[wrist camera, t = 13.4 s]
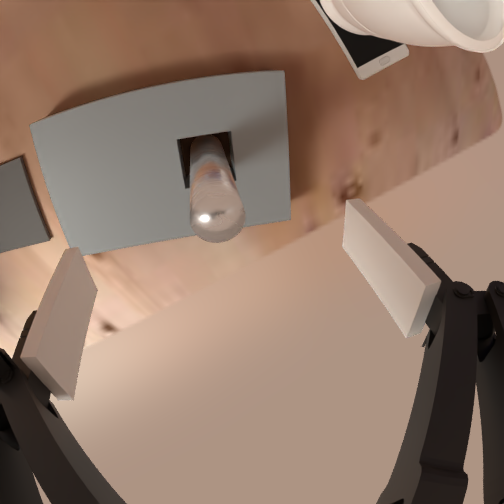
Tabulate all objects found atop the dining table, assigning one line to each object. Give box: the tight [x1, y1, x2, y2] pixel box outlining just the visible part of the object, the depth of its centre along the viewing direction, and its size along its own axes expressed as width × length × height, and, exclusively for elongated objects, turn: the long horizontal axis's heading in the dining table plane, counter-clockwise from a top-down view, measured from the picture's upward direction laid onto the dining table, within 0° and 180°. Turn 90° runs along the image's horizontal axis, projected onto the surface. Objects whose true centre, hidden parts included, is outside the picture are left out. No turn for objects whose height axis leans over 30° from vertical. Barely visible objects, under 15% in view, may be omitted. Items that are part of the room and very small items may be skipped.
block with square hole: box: [29, 70, 291, 256], centre depth 26 cm, size 22×14×4 cm, turn 95°
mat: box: [0, 157, 51, 253], centre depth 26 cm, size 10×10×1 cm
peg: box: [190, 135, 246, 243], centre depth 22 cm, size 3×3×14 cm
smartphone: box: [311, 0, 409, 80], centre depth 22 cm, size 8×1×15 cm
